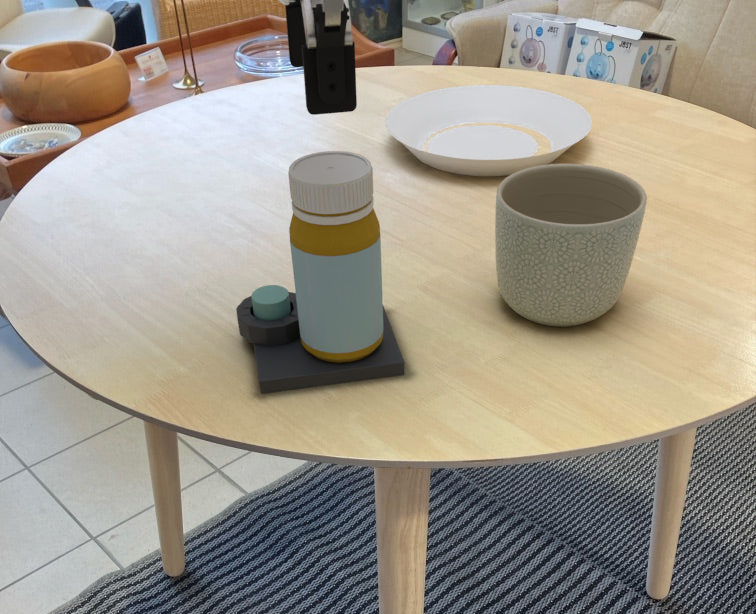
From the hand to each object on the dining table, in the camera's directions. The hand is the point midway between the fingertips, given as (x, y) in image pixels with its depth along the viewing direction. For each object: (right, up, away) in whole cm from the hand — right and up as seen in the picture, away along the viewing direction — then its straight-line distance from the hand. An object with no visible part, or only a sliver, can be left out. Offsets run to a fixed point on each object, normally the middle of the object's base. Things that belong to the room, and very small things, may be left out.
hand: (321, 86), depth 59 cm
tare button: (-5, -12, +15) cm, 20 cm away
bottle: (+1, -15, +14) cm, 21 cm away
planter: (+20, -11, +21) cm, 31 cm away
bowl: (+17, +16, +48) cm, 54 cm away
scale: (-1, -16, +16) cm, 22 cm away
